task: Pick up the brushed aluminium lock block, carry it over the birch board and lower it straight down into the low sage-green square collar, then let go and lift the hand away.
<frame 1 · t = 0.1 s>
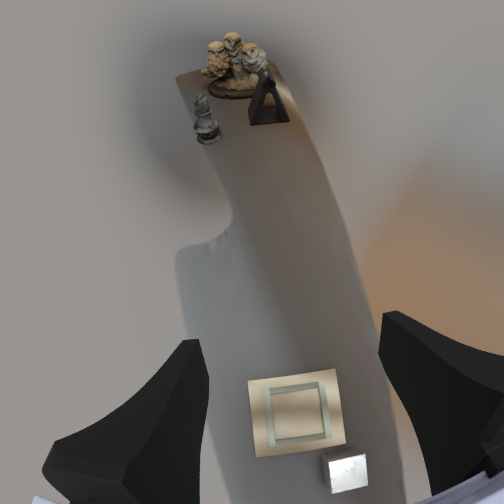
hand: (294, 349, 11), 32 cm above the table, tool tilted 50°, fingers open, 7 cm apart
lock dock: (296, 413, 37), on the table
owl figurine: (238, 89, 74), on the table
phone stand: (268, 117, 67), on the table
grey chess piece: (208, 137, 65), on the table
lock block: (339, 466, 33), on the table
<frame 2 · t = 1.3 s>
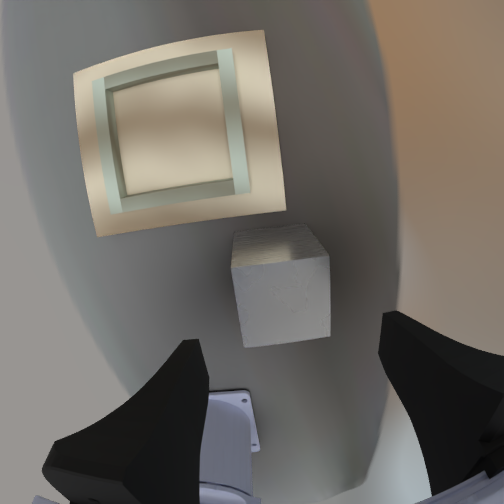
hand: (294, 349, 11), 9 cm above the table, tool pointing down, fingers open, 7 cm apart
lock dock: (174, 132, 17), on the table
lock block: (273, 260, 20), on the table
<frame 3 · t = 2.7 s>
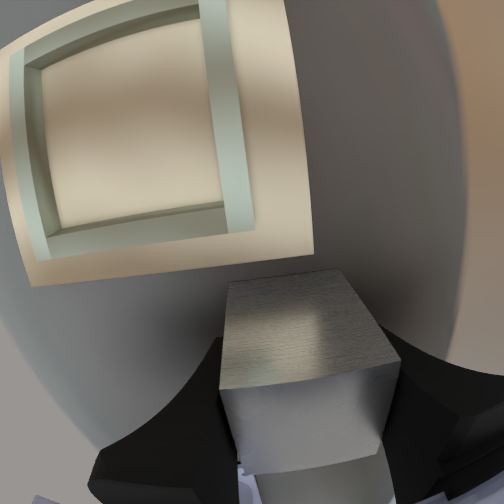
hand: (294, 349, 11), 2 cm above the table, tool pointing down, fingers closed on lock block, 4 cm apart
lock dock: (131, 124, 10), on the table
lock block: (288, 322, 13), on the table, touching gripper
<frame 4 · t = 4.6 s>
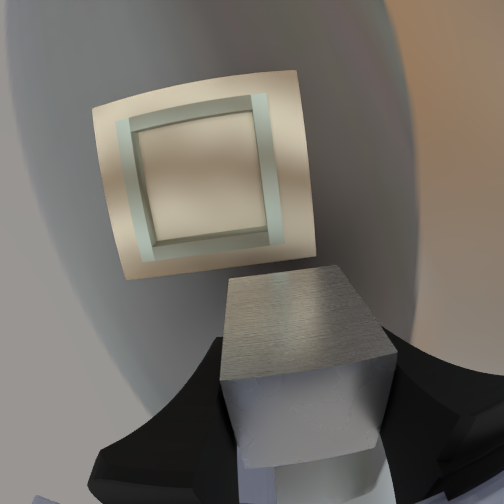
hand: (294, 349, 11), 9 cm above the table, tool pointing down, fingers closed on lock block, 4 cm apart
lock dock: (203, 175, 18), on the table
lock block: (287, 318, 13), point 7 cm above the table, touching gripper
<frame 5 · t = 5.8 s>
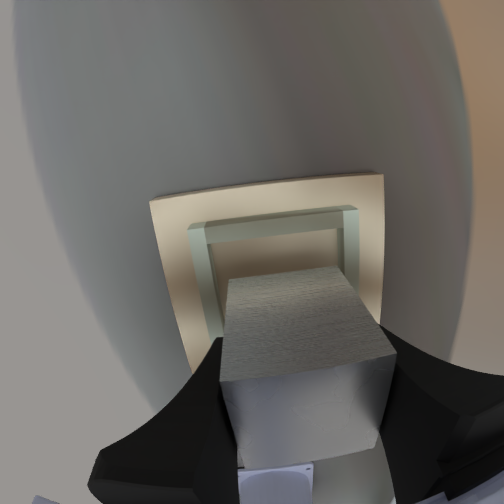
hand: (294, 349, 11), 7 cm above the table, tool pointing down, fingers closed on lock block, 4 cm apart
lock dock: (277, 278, 18), on the table
lock block: (287, 318, 13), point 5 cm above the table, touching gripper
when the fingers open (4 cm above the table, at t = 6.8 s): lock block stays where it is, resting on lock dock.
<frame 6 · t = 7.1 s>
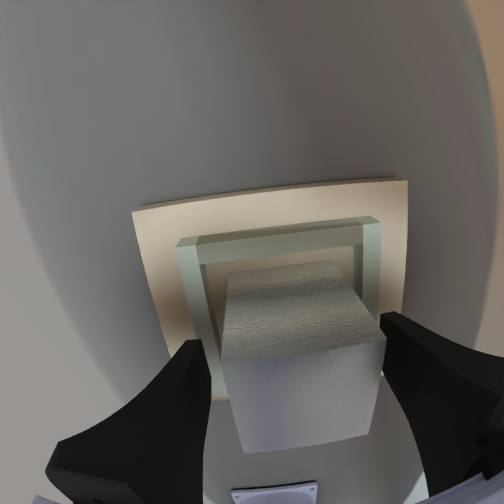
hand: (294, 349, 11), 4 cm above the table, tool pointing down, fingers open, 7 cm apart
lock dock: (282, 299, 15), on the table
lock block: (285, 311, 14), point 1 cm above the table, touching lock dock
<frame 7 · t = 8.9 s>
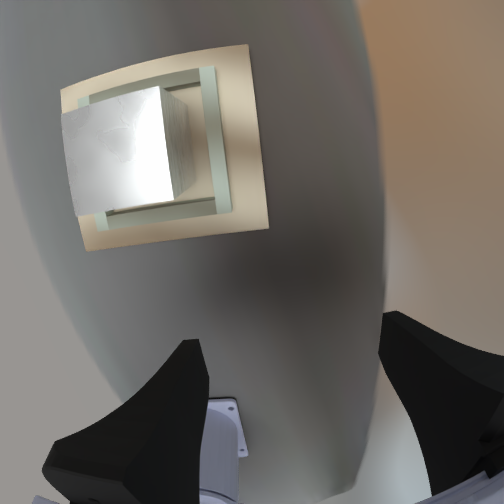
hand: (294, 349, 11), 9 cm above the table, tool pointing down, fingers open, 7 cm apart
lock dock: (159, 149, 17), on the table
lock block: (153, 149, 16), point 1 cm above the table, touching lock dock
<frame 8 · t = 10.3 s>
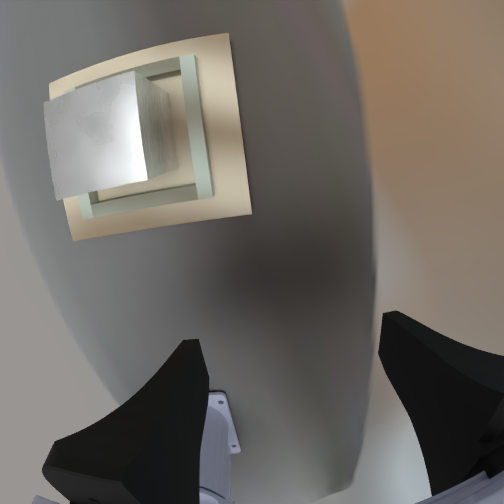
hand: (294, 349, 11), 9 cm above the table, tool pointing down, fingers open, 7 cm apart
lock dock: (143, 138, 17), on the table
lock block: (136, 137, 16), point 1 cm above the table, touching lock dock
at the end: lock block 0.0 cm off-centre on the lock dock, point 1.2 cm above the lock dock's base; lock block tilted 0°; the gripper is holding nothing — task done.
